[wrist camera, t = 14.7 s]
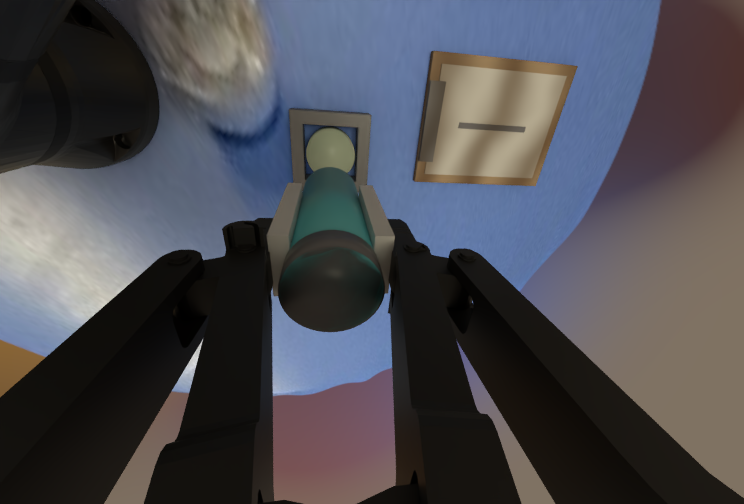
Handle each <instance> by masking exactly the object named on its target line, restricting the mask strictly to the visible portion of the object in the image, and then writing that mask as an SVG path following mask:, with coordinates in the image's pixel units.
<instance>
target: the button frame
mask: <svg viewBox="0 0 744 504" xmlns="http://www.w3.org/2000/svg"><path fill="white" fill-rule="evenodd" d="M289 118H290V134H291V151H292V167H293V183H302V191H303V189H304V185H305V182H306V180H307V178H308V177H309V176H310V175H311V174H306V156H305V130H304V124H312V125H328V126H344V127H357V130H356V153H355V176H350V177H351V178H352V179H353V181H354V183H355V186H356V189H357V192H359V185H367V174H368V158H369V143H370V127H371V115H370V114H369V113H357V112H343V111H329V110H314V109H300V108H291V109H289Z"/></svg>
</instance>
